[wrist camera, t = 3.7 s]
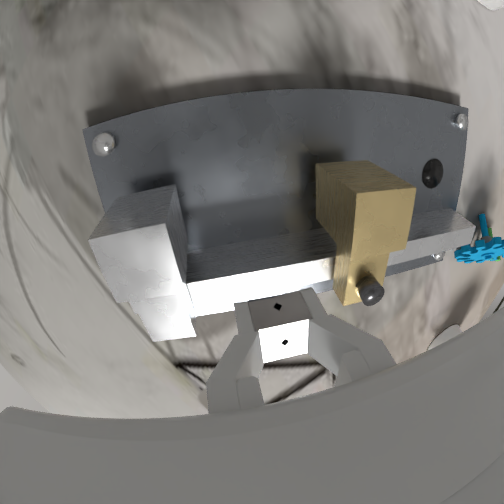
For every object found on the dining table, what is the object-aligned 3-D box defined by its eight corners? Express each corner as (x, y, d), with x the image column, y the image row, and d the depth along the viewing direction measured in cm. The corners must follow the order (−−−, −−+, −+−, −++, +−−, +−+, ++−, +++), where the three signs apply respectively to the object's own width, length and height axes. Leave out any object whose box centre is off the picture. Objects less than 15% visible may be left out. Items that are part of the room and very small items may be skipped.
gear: (444, 260, 27) (516, 244, 18) (439, 213, 28) (506, 192, 19) (468, 271, 32) (523, 259, 23) (464, 233, 33) (516, 219, 24)
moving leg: (307, 158, 18) (359, 195, 12) (356, 155, 19) (419, 189, 13) (308, 258, 23) (343, 320, 17) (350, 250, 23) (393, 305, 17)
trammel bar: (111, 191, 17) (71, 243, 11) (459, 154, 20) (514, 182, 14) (144, 285, 22) (131, 354, 16) (446, 228, 25) (489, 265, 19)
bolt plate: (88, 127, 16) (79, 130, 14) (459, 106, 18) (472, 109, 17) (151, 314, 25) (149, 327, 24) (436, 255, 28) (445, 263, 27)
